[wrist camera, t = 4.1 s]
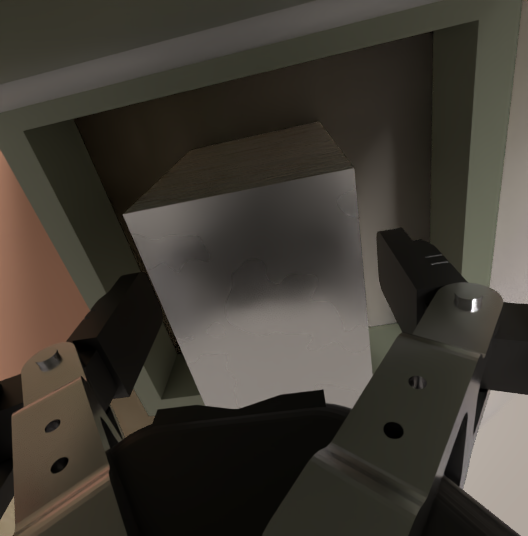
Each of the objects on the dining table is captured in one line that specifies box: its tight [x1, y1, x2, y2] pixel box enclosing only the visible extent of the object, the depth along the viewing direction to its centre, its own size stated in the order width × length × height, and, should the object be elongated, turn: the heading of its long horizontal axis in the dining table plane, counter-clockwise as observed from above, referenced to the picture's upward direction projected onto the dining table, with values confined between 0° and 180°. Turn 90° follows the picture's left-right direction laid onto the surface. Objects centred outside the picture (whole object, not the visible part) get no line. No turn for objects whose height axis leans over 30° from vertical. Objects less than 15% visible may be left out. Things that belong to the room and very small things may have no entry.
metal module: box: [123, 122, 373, 409], centre depth 12 cm, size 5×8×7 cm, turn 12°
